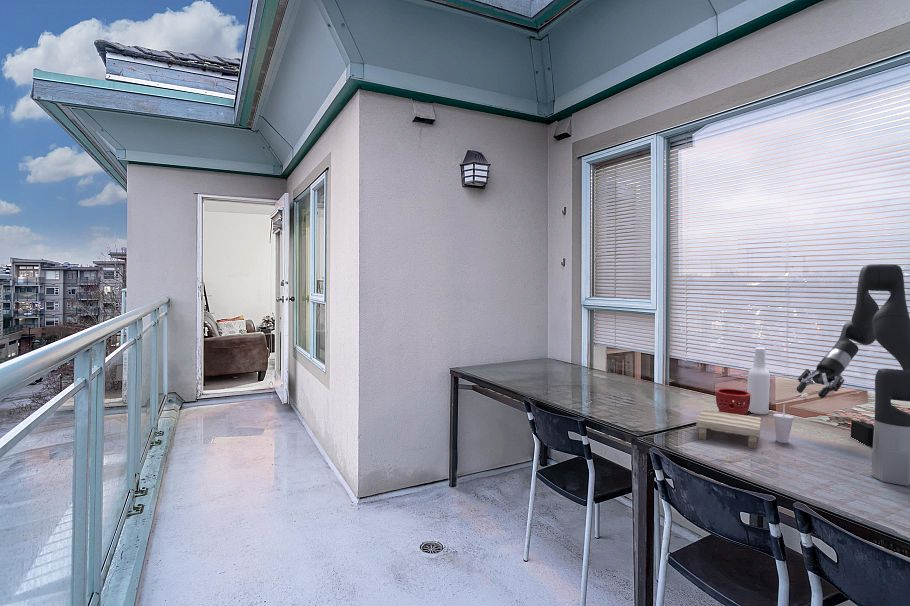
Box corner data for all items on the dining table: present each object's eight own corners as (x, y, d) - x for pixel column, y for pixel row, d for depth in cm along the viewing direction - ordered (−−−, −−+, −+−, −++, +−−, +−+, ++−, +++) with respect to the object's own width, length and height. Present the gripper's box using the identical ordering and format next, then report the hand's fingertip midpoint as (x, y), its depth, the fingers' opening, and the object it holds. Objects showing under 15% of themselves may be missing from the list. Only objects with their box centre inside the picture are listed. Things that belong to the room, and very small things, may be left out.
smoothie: (772, 442, 179) (774, 404, 178) (770, 437, 185) (772, 401, 184) (793, 445, 176) (795, 407, 175) (791, 440, 182) (793, 403, 181)
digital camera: (884, 448, 176) (885, 429, 175) (867, 446, 177) (868, 427, 176) (866, 439, 186) (867, 421, 186) (850, 438, 187) (851, 420, 187)
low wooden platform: (758, 449, 170) (759, 429, 170) (695, 438, 181) (696, 420, 181) (760, 435, 187) (761, 417, 186) (702, 426, 198) (703, 409, 197)
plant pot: (715, 412, 221) (716, 386, 220) (749, 417, 214) (750, 390, 214) (714, 419, 210) (715, 391, 209) (749, 424, 203) (750, 396, 202)
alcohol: (750, 408, 230) (753, 346, 229) (771, 413, 223) (774, 348, 222) (743, 411, 224) (746, 347, 223) (764, 415, 217) (767, 349, 216)
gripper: (811, 353, 191) (786, 383, 189) (848, 359, 177) (822, 391, 175) (820, 366, 193) (796, 396, 190) (858, 373, 179) (833, 405, 176)
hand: (809, 393), depth 183 cm, fingers open, 8 cm apart
